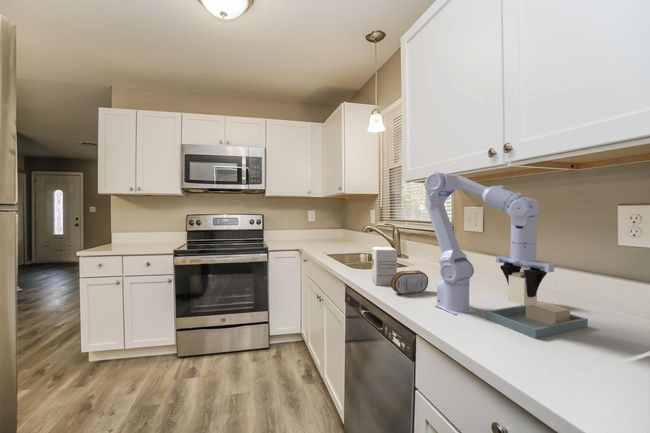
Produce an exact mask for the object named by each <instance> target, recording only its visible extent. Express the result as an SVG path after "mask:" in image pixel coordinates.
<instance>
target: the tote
mask: <svg viewBox="0 0 650 433" xmlns="http://www.w3.org/2000/svg"><path fill="white" fill-rule="evenodd" d="M485 320H487V321H490V322H492V323H495V324H497V325H500V326H503V327H505V328H507V329H509V330H512V331H514V332H517V333H520V334H522V335H524V336H527V337H529V338H532V339H534V340H537V339H541V338H546V337H550V336H551V337H552V336H555V335H559V334H560V335H561V334H564V333H569V332H574V331H578V330H582V329H586V328H588V326H589V325H588V324H589V321H588V320H589V319H588V318H585V317H583V316H579V315H577V314H572V313H570V321H567V322H562V323H557V324H553V325H547V324H544V323H542V322H539V321H536V320H533V319H530V318H527V317H526V306H523V305H515V306H509V307H503V308H496V309H491V310H485Z"/></svg>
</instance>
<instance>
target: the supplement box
mask: <svg viewBox="0 0 650 433" xmlns="http://www.w3.org/2000/svg"><path fill="white" fill-rule="evenodd" d="M371 255H372V256H371V259H372V260H371V270H372V271H371V272H372V273H371V274H372V275H371V281H372V282H373V283H374V285H375V286H391V280H392V278H393V276H394V275H395V274H396V273H397V272H398V268H397V267H398V250H397V249H395V248H394V247H392V246H383V247H382V246H372V250H371Z"/></svg>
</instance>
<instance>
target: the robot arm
mask: <svg viewBox="0 0 650 433" xmlns="http://www.w3.org/2000/svg"><path fill="white" fill-rule="evenodd" d="M423 186H424V190H425V199H424V200H425V201H424V204H425V206H426V209H427V212H428V215H429V219H430V221H431V224H432V227H433V231H434V233H435V237H436V239H437V242H438V245H439V249H440V251H441V256H440V258H439V260H438V262H439V265H440V266H439V268H440V269H439V274H440V276H441V278H442V279H440V280H439V281H438V284H437V285H436V286H437V287H436V303H435V304H434V306H435V307H437V308H439V309H441V310H443V311H446V312H448V313H450V314H452V315H455V316H458V315H459V314H466V313H471V312H476V310H475V309H473V308H471V307H470V282H471V277H473V275H474V274H475V269H474V268H475V267H474V265H473V263H472V262H471V261H470V260H469V259H468V257H467V255H466V253H464V252H463V251H462V250H461V249H460V246H459V243H458V241H457V238H456V235H455V232H454V229H453V227H452V223H451V220H450V218H449V216H448V212H447V209H446V206H445V202H446V201H447V200H448V198H449V197H450V196H452V195H453V193H454V192H456V190H457V191H458V190H459V191H460V190H462V191H464V192H467V193H469V194H472V195H475V196H478V197H480V198H482V199H483V202H484V204H485V205H487V206H490V207H492V208H493V209H496V210H498V211H501V212H504V213H505V214H508V216H509V217H510V247H509V248H510V249H509V250H510V251H509V252H510V255H503V254H502V255H501V254H500V255H496V256H495V263H497V264H499V263H500V264H501V263H502V265H500V267H499V268H500V269H501V271H502V273H503V275H504V277H505V279H506V282H507V285H508V287H509V275H512V273H516V272H520V270H521V267H526V268H530V269H527V270H524V273H525V276H526V281H527V295H528V297H535V296H536V293H537V294H538V289H539V287H540V285H541V282H543V279H544V278H545V277H546V275H547V274H548V273H554V272H555V263H550V262H545V261H541V260H537V238H538V237H537V236H538V232H537V229H538V226H537V221H538V219H537V218H538V217H537V216H538V215H539V214H540V213H541V205H540V202H539V201H538V200H537V199H534V197H532V196H525V197H523V193H521V192H513V191H511V190H508V189H506V186H505V185H500V184H499V185H492V186H489V187H487V186H485V185H483V184H481V183H478V182H477V181H474V180H472V179H469V178H468V177H464V176H462V175H458V174H454V173H445V172H438V171H432V172H431V173H429V174H428V176H427V177H426V180H425V181H424V183H423Z"/></svg>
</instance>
